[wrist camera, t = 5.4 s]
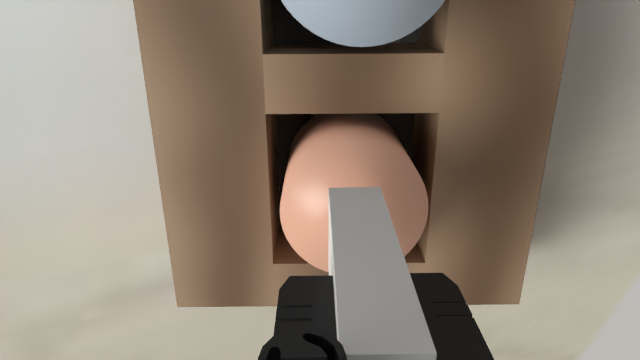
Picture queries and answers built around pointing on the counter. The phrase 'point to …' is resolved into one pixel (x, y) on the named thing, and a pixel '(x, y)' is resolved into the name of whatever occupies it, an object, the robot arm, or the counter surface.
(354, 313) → the robot arm
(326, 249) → the button terracotta
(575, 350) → the counter surface
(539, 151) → the console
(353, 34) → the button slate
